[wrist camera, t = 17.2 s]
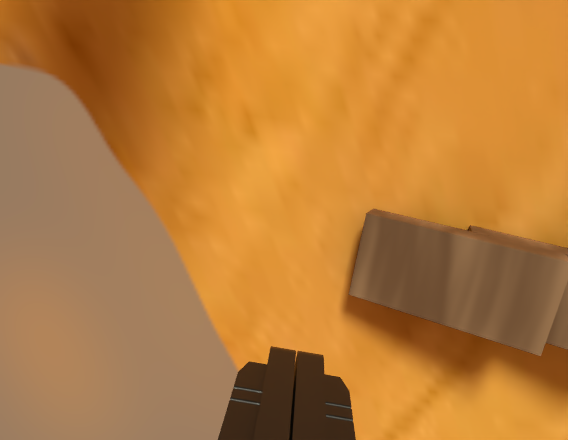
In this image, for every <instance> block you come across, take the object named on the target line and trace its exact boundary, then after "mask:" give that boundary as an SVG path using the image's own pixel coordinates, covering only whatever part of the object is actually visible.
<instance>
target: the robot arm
mask: <svg viewBox="0 0 568 440" xmlns="http://www.w3.org/2000/svg"><path fill="white" fill-rule="evenodd" d="M295 356H296V351H295V350H289V349H283V348H278V347H272V346H271V348H270V353H269V359H268V364H267V365H266V364H260V363H255V362H248V363H247V364H246V365H245V366H244V367H243V368H242V369H241V370H240V371H239V372H238V374H237V378H236V381H235V384H234V389H233V391H232V395H231V398H230V401H229V404H228V408H227V411H226V414H225V418H224V421H223V424H222V428H221V431H220V434H219V438H218V440H356V439H355V431H354V423H353V416H352V409H351V401H350V393H349V390H348V388H347V387H346V385H345V384H344V382H343V381H342V379H341V378H340V377H336V376H331V375H325V374H324V357H323V355H319V354H313V353H307V352H302V351H298V352H297V357H296V362H295Z"/></svg>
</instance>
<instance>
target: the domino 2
mask: <svg viewBox="0 0 568 440" xmlns="http://www.w3.org/2000/svg"><path fill="white" fill-rule="evenodd" d="M469 231H471V232H475V233H480V234H484V235H488V236H493V237H497V238H501V239H505V240H510V241H514V242H518V243H523V244H527V245H531V246H535V247H540V248H544V249H548V250H553V251H557V252H561V253H564V254H565V255H567V256H568V248H564V247H560V246H556V245H552V244H547V243H543V242H539V241H535V240H530V239H526V238H522V237H518V236H513V235H509V234H505V233H501V232H496V231H492V230H488V229H484V228H479V227H475V226H471V225H470V228H469ZM546 343H548V344H551V345H554V346H557V347H561V348H564V349H567V350H568V282H567V285H566V287H565V290H564V293H563V296H562V299H561V301H560V304H559V307H558V310H557V313H556V315H555V318H554V321H553V324H552V326H551V329H550V332H549V335H548V338H547V340H546Z"/></svg>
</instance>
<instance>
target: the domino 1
mask: <svg viewBox="0 0 568 440" xmlns="http://www.w3.org/2000/svg"><path fill="white" fill-rule="evenodd" d="M567 282H568V256H567V255H565V254H564V253H561V252H557V251H553V250H548V249H544V248H540V247H535V246H531V245H527V244H523V243H518V242H514V241H510V240H505V239H501V238H497V237H493V236H488V235H484V234H480V233H475V232H471V231H467V230H462V229H458V228H454V227H450V226H445V225H441V224H437V223H432V222H428V221H424V220H420V219H415V218H411V217H407V216H402V215H398V214H394V213H390V212H385V211H381V210H377V209H372V210H371V211H369V212H368V213H366V218H365V222H364V227H363V231H362V236H361V241H360V245H359V250H358V254H357V259H356V264H355V268H354V273H353V277H352V282H351V287H350V291H349V295H352V296H355V297H358V298H361V299H364V300H367V301H371V302H374V303H377V304H380V305H383V306H386V307H389V308H392V309H395V310H399V311H402V312H405V313H408V314H411V315H414V316H417V317H420V318H423V319H427V320H430V321H433V322H436V323H439V324H442V325H445V326H448V327H451V328H454V329H458V330H461V331H464V332H467V333H470V334H473V335H476V336H479V337H482V338H486V339H489V340H492V341H495V342H498V343H501V344H504V345H507V346H510V347H514V348H517V349H520V350H523V351H526V352H529V353H532V354H535V355H538V356H541V354H542V352H543V349H544V346H545V343H546V340H547V338H548V335H549V332H550V329H551V326H552V324H553V321H554V318H555V315H556V313H557V310H558V307H559V304H560V301H561V299H562V296H563V293H564V290H565V287H566V285H567Z"/></svg>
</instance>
